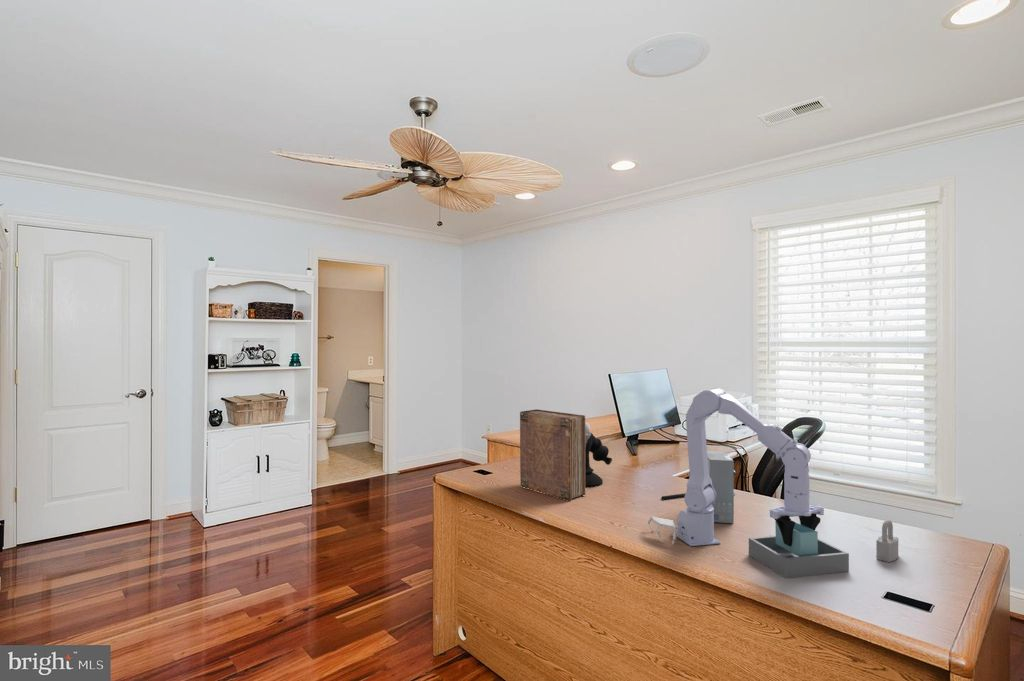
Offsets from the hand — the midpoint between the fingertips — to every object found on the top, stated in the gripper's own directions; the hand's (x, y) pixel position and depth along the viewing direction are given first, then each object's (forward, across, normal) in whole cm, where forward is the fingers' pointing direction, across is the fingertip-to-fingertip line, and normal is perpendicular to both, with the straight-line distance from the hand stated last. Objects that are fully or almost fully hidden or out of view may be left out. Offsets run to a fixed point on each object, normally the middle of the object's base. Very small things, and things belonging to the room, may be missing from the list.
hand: (796, 543), depth 135 cm
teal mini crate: (+2, 0, 0) cm, 2 cm away
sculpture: (+5, -25, +86) cm, 90 cm away
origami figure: (+5, -25, +24) cm, 35 cm away
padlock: (+5, +26, -2) cm, 27 cm away
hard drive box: (+5, +1, +37) cm, 37 cm away
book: (+5, -45, +74) cm, 87 cm away
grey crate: (+5, 0, 0) cm, 5 cm away
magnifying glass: (+6, +7, +59) cm, 59 cm away
